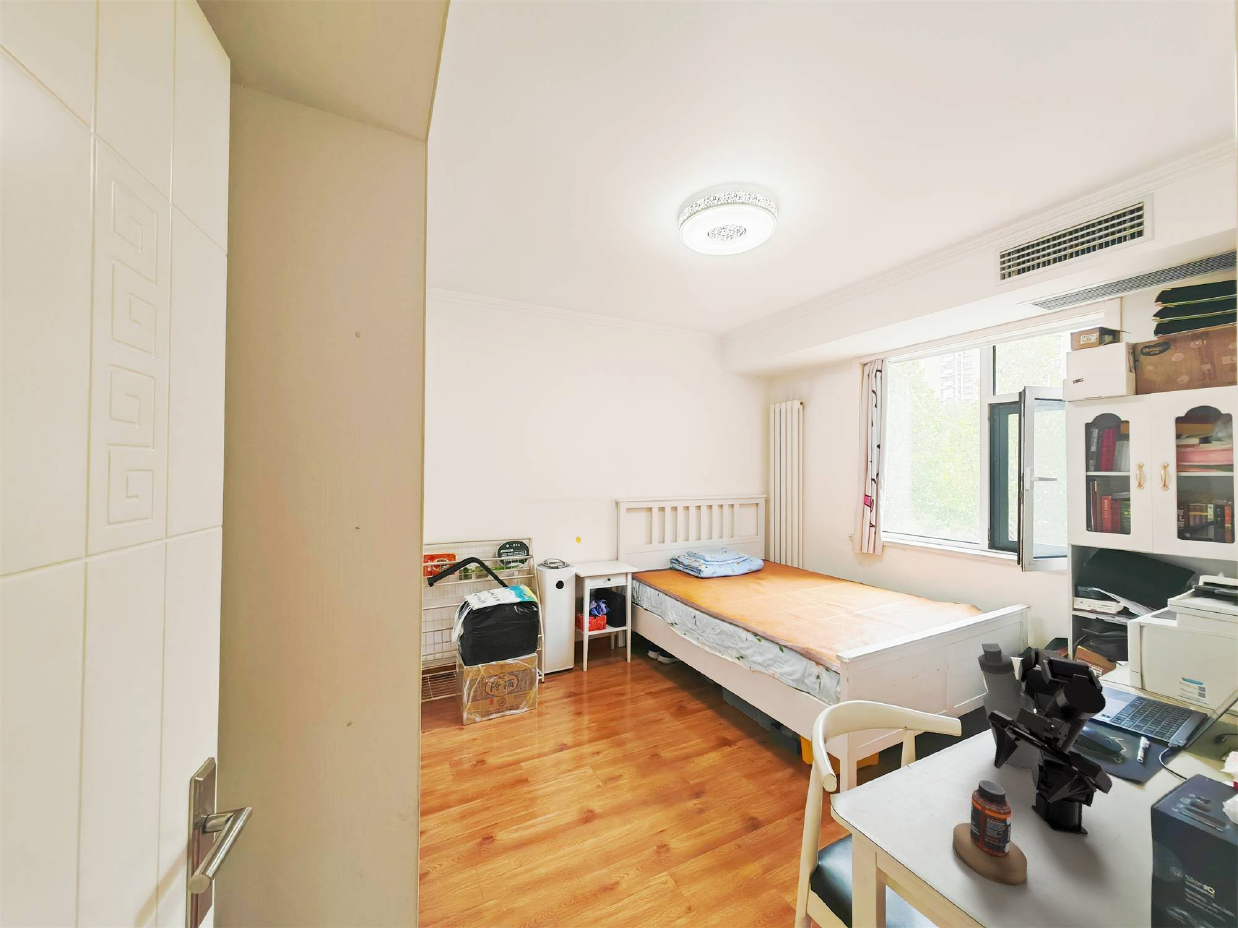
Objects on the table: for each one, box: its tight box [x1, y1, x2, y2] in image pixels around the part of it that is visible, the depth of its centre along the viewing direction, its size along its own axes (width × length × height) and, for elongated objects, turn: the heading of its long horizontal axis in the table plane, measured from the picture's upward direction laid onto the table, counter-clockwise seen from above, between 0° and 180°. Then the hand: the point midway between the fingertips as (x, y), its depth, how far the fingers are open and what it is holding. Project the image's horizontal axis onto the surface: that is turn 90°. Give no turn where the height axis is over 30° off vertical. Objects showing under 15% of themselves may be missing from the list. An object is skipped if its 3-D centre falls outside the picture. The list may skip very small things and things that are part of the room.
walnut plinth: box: [952, 822, 1028, 886], centre depth 88 cm, size 11×11×2 cm
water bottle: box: [977, 642, 1040, 769], centre depth 118 cm, size 10×10×28 cm
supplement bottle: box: [970, 779, 1012, 857], centre depth 88 cm, size 6×6×11 cm
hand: (1020, 782), depth 90 cm, fingers open, 9 cm apart
